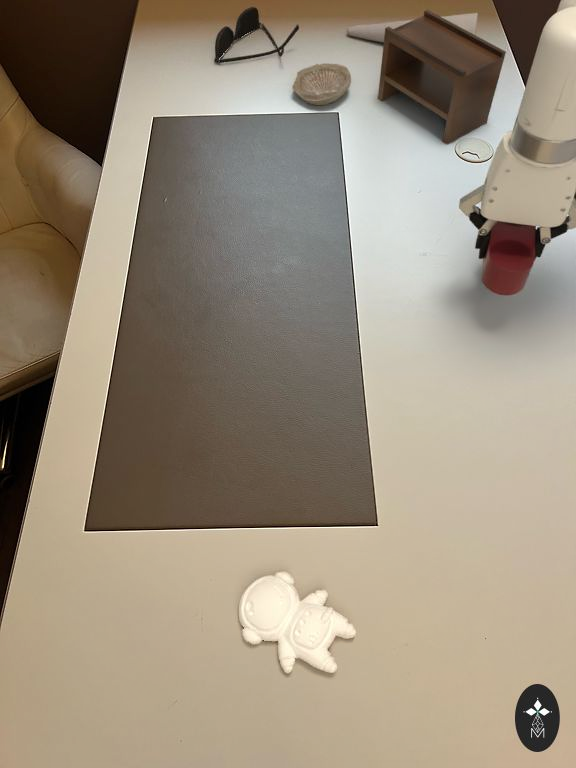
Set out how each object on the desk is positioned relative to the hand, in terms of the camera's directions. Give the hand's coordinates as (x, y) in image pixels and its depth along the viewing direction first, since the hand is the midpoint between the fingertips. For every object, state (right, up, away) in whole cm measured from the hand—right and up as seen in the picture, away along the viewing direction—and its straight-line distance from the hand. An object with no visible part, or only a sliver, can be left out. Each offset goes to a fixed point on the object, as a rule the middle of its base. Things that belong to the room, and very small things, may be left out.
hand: (505, 253), depth 83 cm
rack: (-3, +33, +31) cm, 45 cm away
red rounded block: (0, 0, +1) cm, 1 cm away
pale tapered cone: (-5, +50, +43) cm, 66 cm away
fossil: (-23, +37, +35) cm, 56 cm away
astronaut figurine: (-28, -42, -19) cm, 54 cm away
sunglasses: (-34, +50, +43) cm, 74 cm away
